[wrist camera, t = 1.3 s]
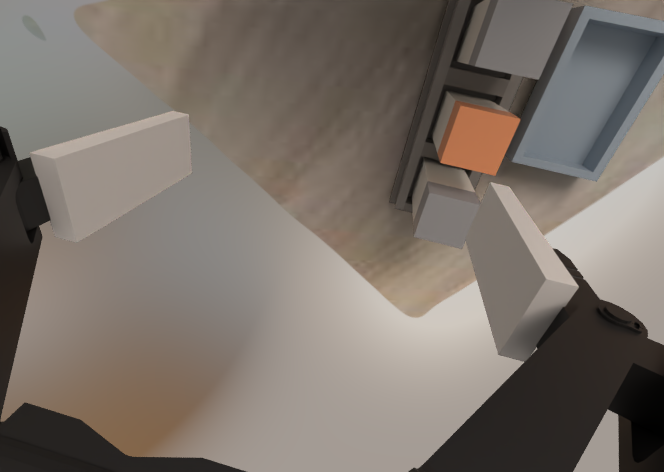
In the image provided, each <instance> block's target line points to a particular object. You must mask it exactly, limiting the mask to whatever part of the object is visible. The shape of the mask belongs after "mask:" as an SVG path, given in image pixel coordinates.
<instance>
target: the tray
mask: <svg viewBox="0 0 664 472" xmlns="http://www.w3.org/2000/svg"><path fill="white" fill-rule="evenodd" d="M663 74H664V21H661V20H656V19H651V18H646V17H641V16H636V15H631V14H626V13H621V12H616V11H610V10H605V9H600V8H595V7H590V6H581V7H577V8H572V9H571V10H570V12H569V14H568V17H567V19H566V21H565V23H564V25H563V28H562V30H561V32H560V34H559V36H558V39H557V41H556V43H555V45H554V47H553V50H552V52H551V54H550V56H549V58H548V61H547V63H546V65H545V67H544V69H543V72H542V74H541V76H540V78H539V80H537V82H536V85H535V87H534V89H533V91H532V93H531V96H530V98H529V100H528V102H527V104H526V107H525V109H524V111H523V113H522V116H521V118H520V119H521V120H520V122H519V125H518V127H517V129H516V131H515V133H514V136H513V138H512V140H511V142H510V144H509V147H508V149H507V151H506V153H505V155H506V156H507V157H508V158H509V159H510V161H511V162H515V163H519V164H523V165H528V166H532V167H536V168H541V169H545V170H549V171H553V172H558V173H562V174H566V175H571V176H575V177H579V178H584V179H588V180H592V181H596V182H597V180H598V179H599V177H600V176H601V174H602V172H603V171H604V169H605V168H606V166H607V164H608V163H609V161H610V159H611V158H612V156H613V155H614V153H615V151H616V150H617V148H618V147H619V145H620V143H621V142H622V140H623V139H624V137H625V135H626V134H627V132H628V131H629V129H630V127H631V126H632V124H633V123H634V121H635V119H636V118H637V116H638V114H639V113H640V111H641V110H642V108H643V106H644V105H645V103H646V102H647V100H648V98H649V97H650V95H651V94H652V92H653V90H654V89H655V87H656V86H657V84H658V82H659V81H660V79H661V77H662V76H663Z"/></svg>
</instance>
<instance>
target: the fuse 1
mask: <svg viewBox="0 0 664 472" xmlns="http://www.w3.org/2000/svg"><path fill="white" fill-rule="evenodd" d="M480 204H481V203H480V201H479V199H478V197H477V195H476V192H475V190H474V188H473V186H472V184H471V182H470V180H469V178H468V176H467V174H466V172H465V170H464V168H460V167H456V166H452V165H447V164H443V163H440V161H438V160H434V159H429V158H425V157H423V161H422V164H421V167H420V170H419V173H418V176H417V179H416V182H415V185H414V188H413V191H412V210H413V234H414V237H416V238H420V239H424V240H428V241H432V242H436V243H440V244H444V245H447V246H451V247H455V248H459V249H462V248H463V246H464V244H465V241H466V240H465V238H466V236H467V233H468V231H469V229H470V227H471V224H472V222H473V220H474V217H475V215H476V213H477V211H478V208H479V206H480Z"/></svg>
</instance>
